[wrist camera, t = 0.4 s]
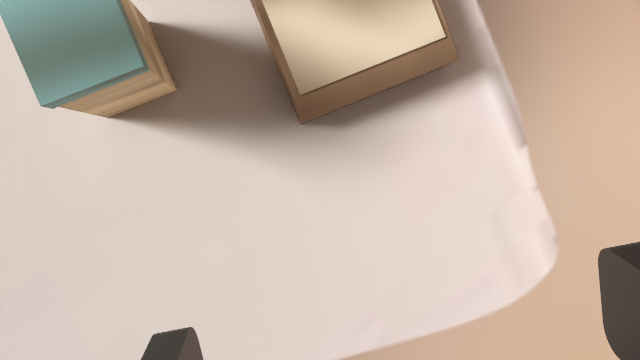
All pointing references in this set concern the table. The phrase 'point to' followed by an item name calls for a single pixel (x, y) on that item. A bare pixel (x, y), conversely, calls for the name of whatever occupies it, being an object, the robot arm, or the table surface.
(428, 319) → the table surface
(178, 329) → the robot arm
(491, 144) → the table surface
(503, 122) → the table surface
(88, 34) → the teal topped tan block
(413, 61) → the dock
